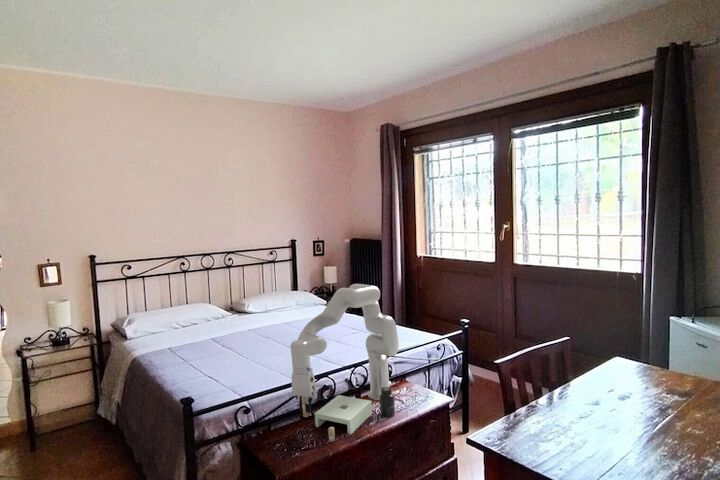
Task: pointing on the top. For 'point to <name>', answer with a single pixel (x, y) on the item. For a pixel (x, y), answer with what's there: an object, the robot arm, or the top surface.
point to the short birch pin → (331, 434)
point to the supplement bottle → (387, 402)
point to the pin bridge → (345, 412)
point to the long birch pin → (304, 407)
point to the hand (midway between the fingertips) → (305, 410)
